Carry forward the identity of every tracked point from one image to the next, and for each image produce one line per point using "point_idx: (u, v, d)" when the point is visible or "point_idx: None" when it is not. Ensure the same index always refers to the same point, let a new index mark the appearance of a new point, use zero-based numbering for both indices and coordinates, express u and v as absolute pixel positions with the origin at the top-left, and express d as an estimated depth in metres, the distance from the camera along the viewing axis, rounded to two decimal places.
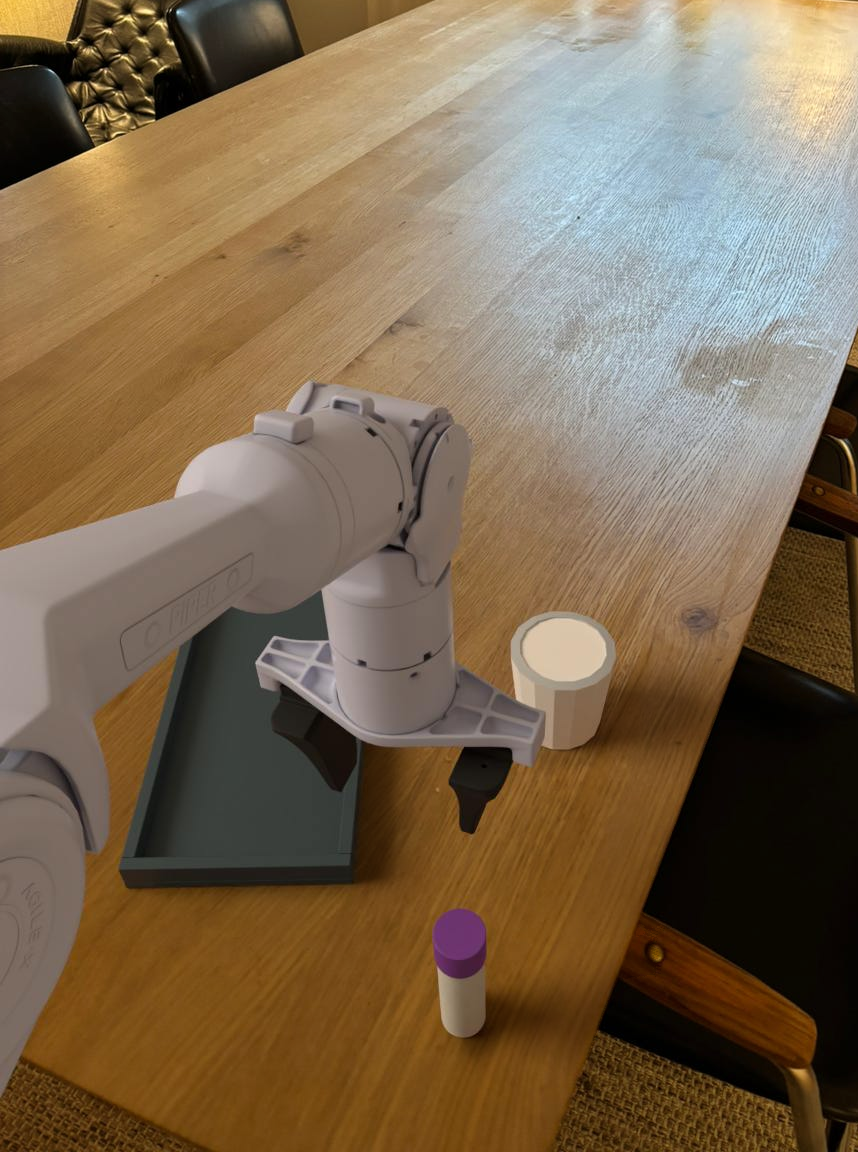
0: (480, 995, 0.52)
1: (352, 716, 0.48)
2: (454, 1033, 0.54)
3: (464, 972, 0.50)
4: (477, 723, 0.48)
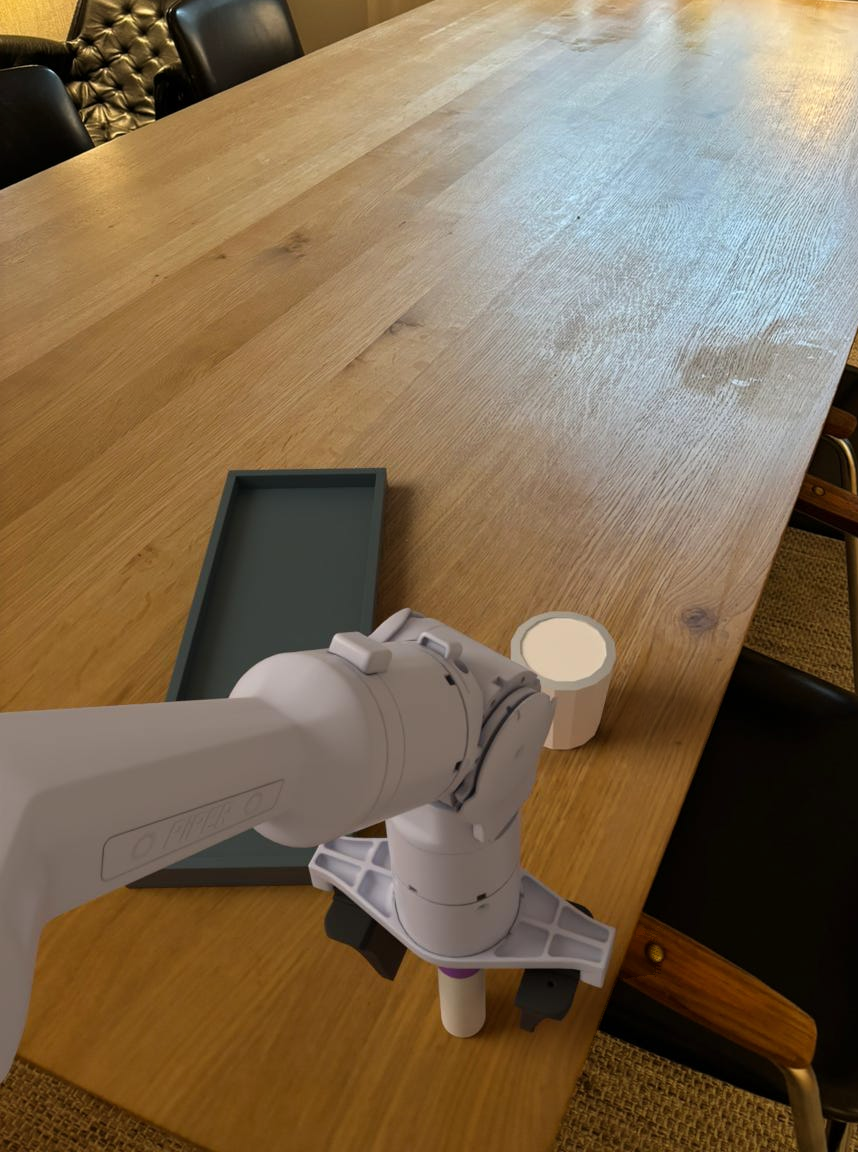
0: (480, 995, 0.52)
1: (413, 936, 0.46)
2: (454, 1033, 0.54)
3: (464, 972, 0.50)
4: (543, 940, 0.46)
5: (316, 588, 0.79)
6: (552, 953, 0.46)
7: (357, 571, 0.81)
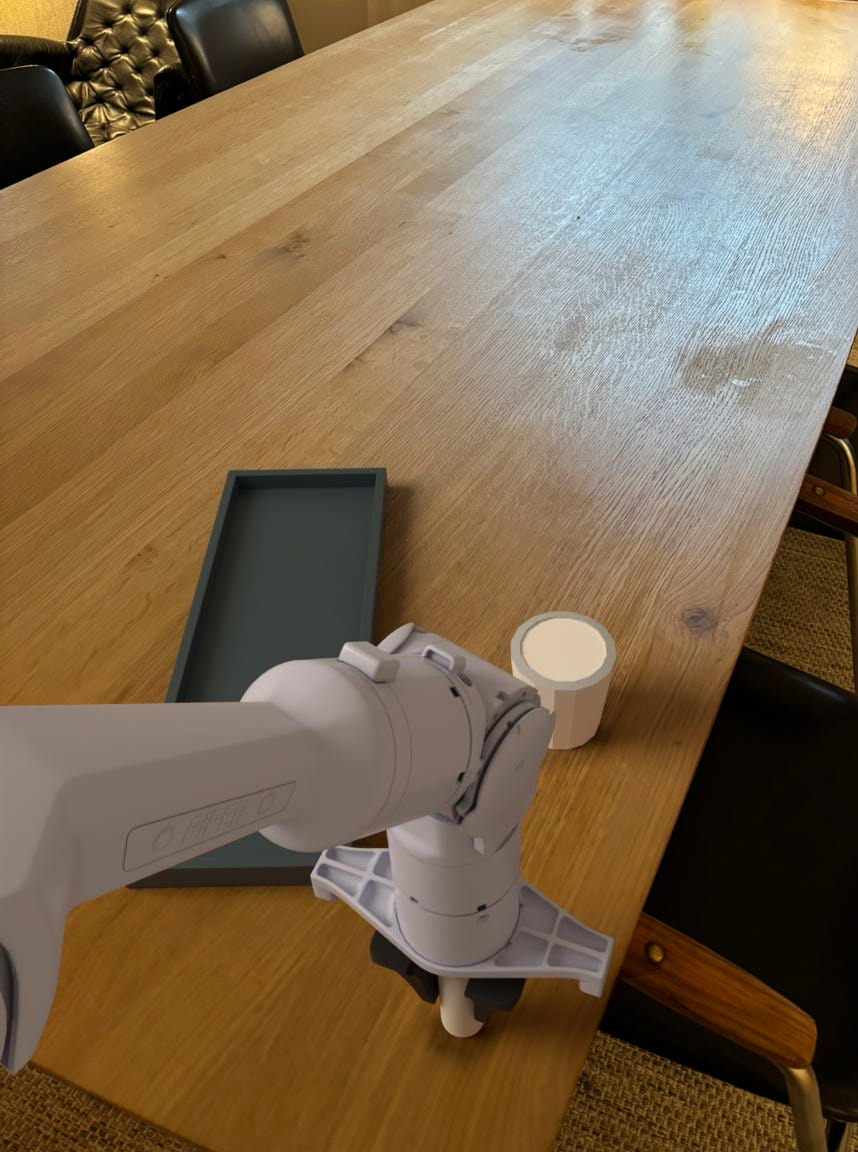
0: None
1: (414, 946, 0.46)
2: (454, 1033, 0.54)
3: None
4: (543, 950, 0.47)
5: (316, 588, 0.79)
6: (551, 963, 0.46)
7: (357, 571, 0.81)
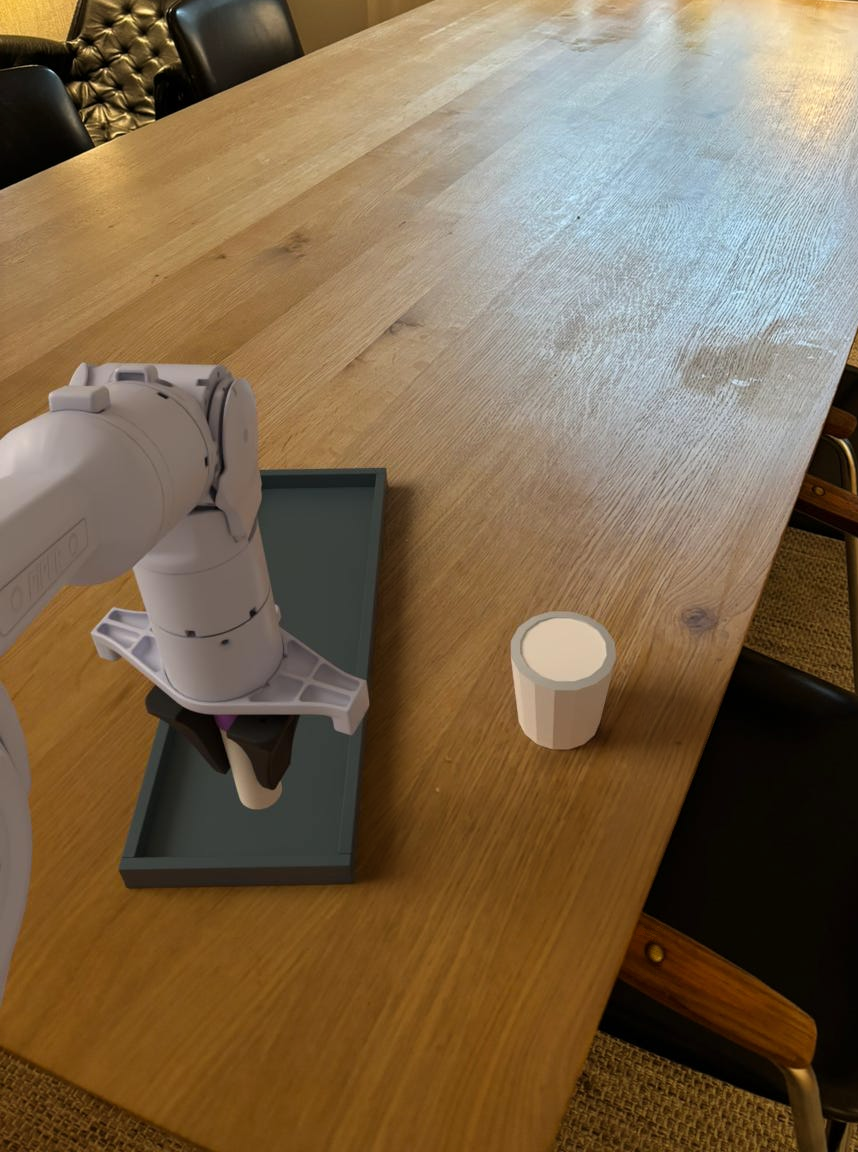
0: None
1: (174, 684, 0.49)
2: (248, 805, 0.57)
3: None
4: (299, 691, 0.49)
5: (316, 588, 0.79)
6: (305, 701, 0.49)
7: (357, 571, 0.81)
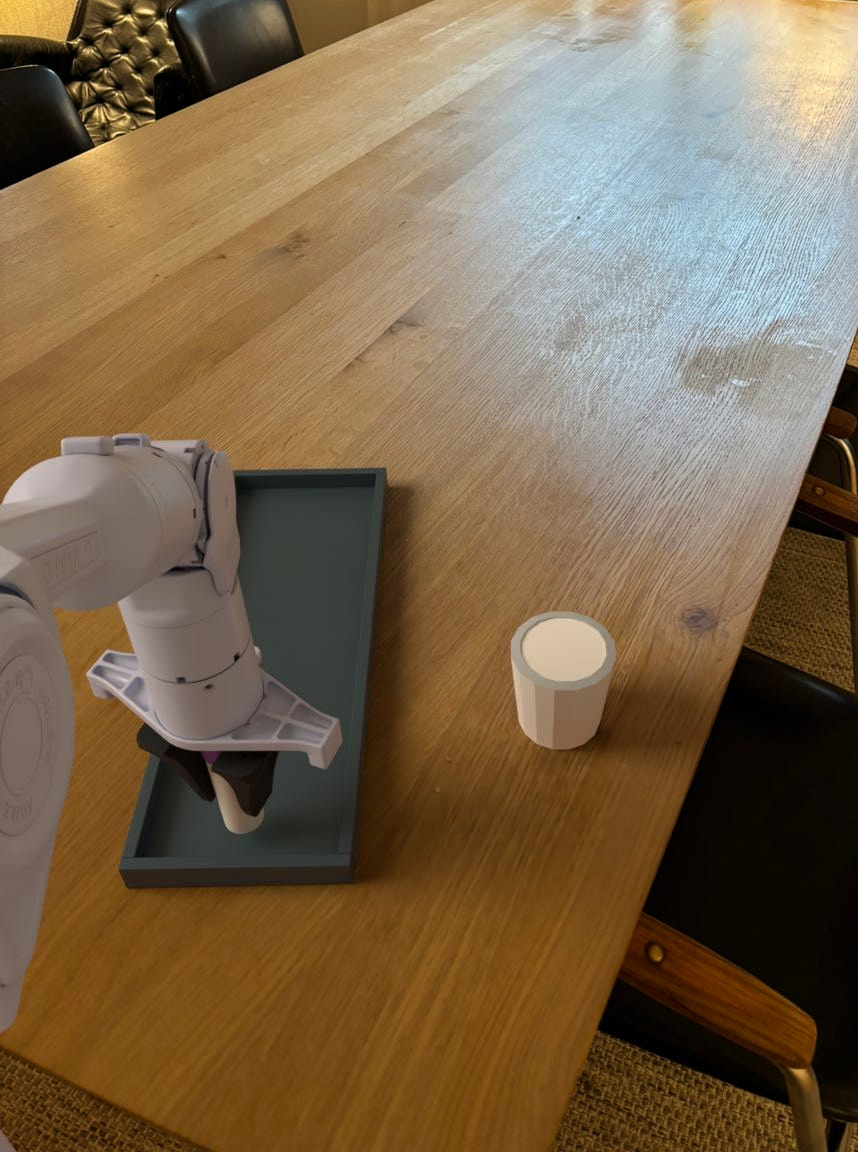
0: None
1: (163, 723, 0.53)
2: (232, 830, 0.62)
3: None
4: None
5: (316, 588, 0.79)
6: (282, 738, 0.53)
7: (357, 571, 0.81)
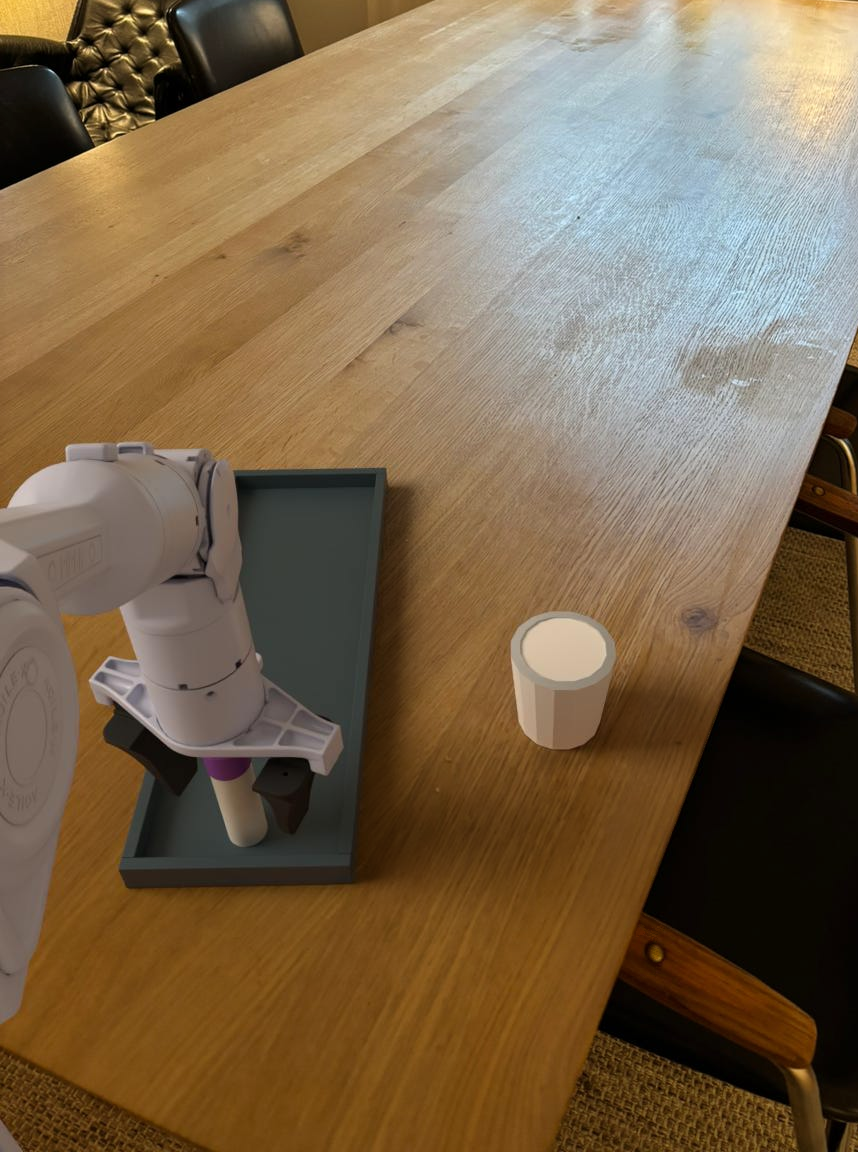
0: (251, 803, 0.60)
1: (165, 729, 0.53)
2: (236, 843, 0.62)
3: (226, 774, 0.58)
4: (279, 736, 0.54)
5: (316, 588, 0.79)
6: (284, 745, 0.54)
7: (357, 571, 0.81)
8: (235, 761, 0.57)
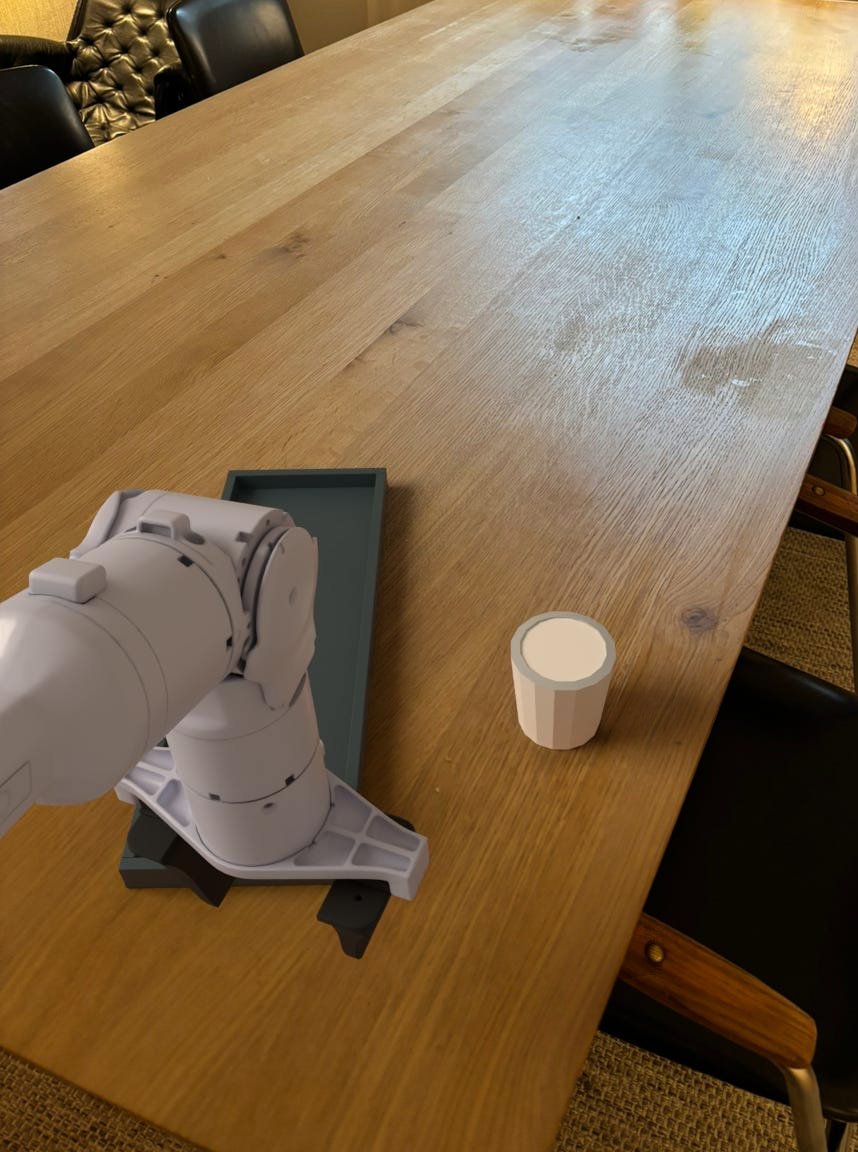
0: None
1: (207, 844, 0.42)
2: None
3: None
4: (350, 850, 0.43)
5: (316, 588, 0.79)
6: (357, 863, 0.42)
7: (357, 571, 0.81)
8: None
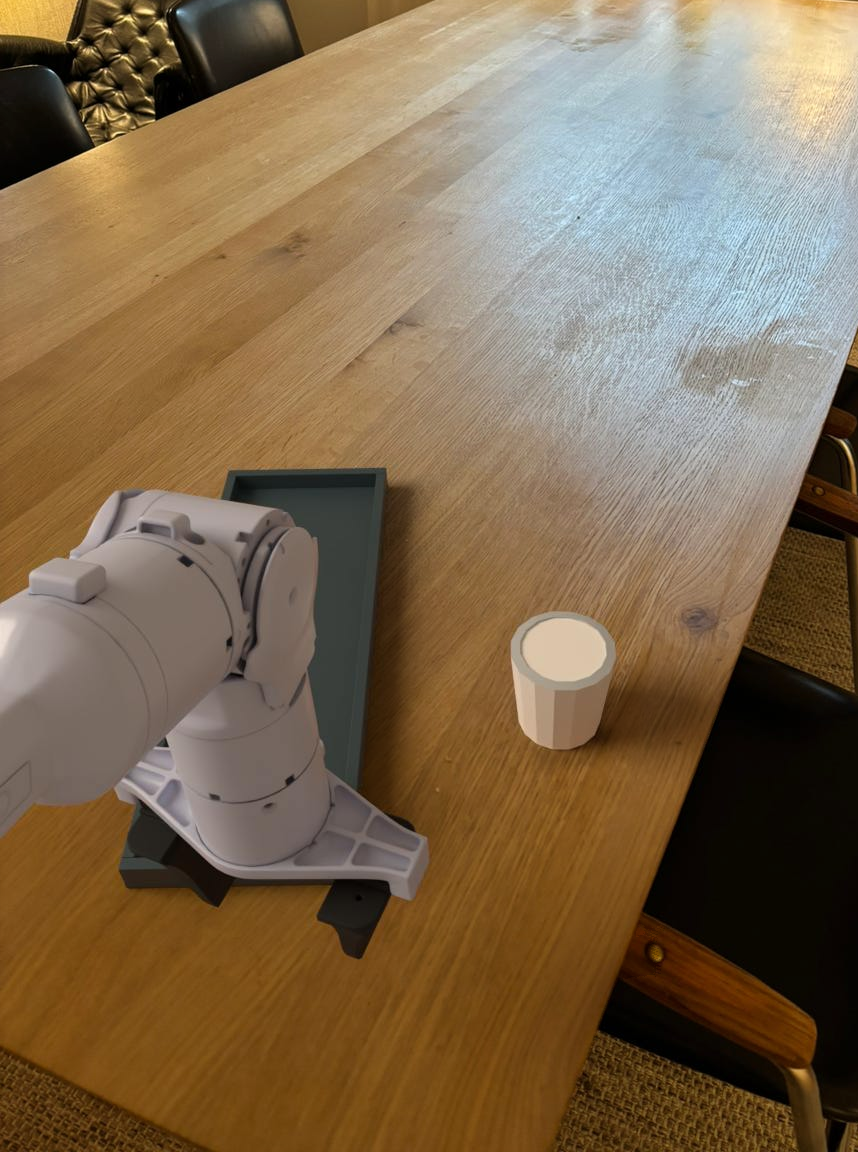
0: None
1: (207, 844, 0.42)
2: None
3: None
4: (350, 850, 0.43)
5: (316, 588, 0.79)
6: (357, 863, 0.42)
7: (357, 571, 0.81)
8: None
